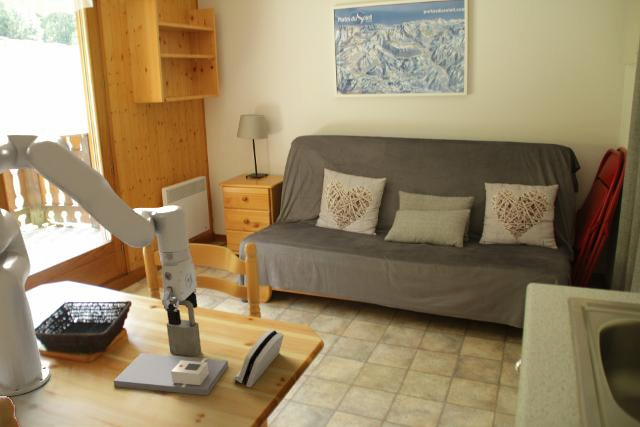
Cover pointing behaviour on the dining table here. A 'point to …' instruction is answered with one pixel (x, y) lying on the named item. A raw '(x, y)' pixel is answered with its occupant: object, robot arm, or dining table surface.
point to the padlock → (185, 334)
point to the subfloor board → (167, 374)
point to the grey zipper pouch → (260, 357)
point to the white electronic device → (190, 372)
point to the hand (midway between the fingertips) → (183, 315)
